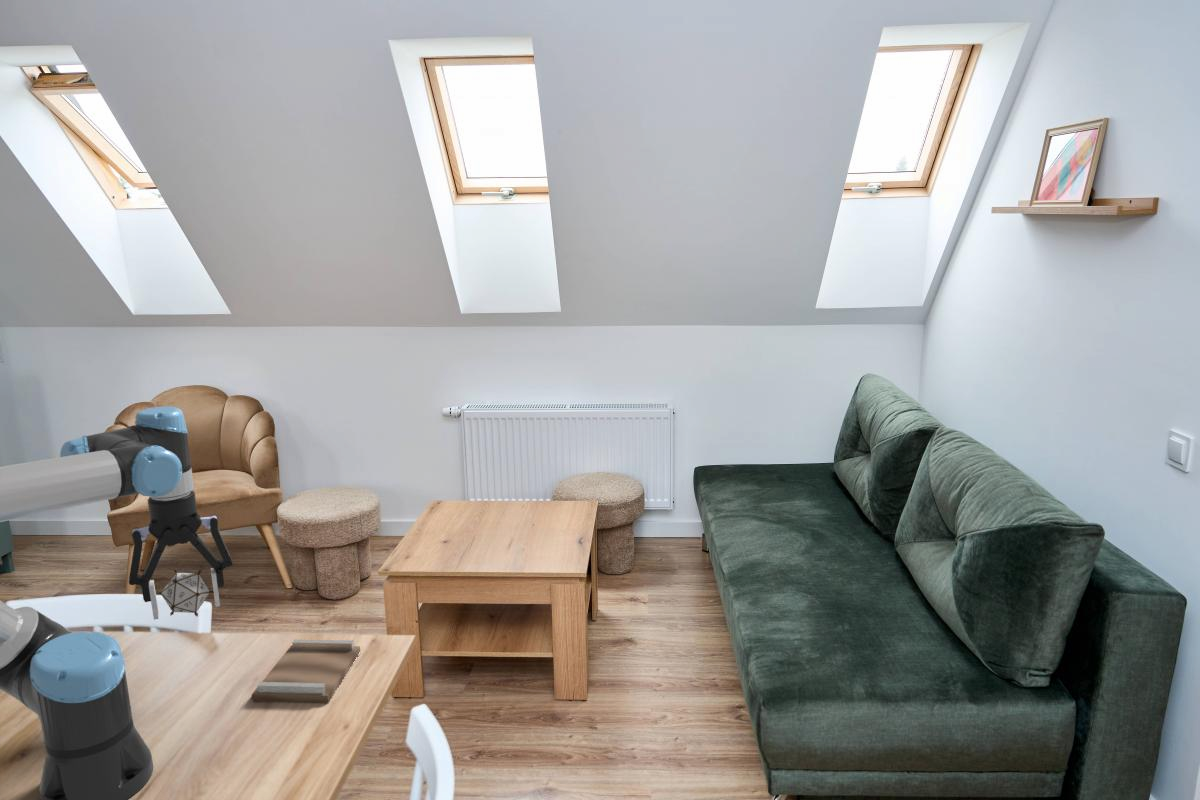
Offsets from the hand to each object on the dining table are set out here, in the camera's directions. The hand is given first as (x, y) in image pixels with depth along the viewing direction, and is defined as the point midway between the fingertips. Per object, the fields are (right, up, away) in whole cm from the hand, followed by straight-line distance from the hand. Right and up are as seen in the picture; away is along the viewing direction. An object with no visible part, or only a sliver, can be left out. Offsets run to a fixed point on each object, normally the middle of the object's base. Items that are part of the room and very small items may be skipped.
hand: (187, 609), depth 154 cm
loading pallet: (+20, -14, +6) cm, 25 cm away
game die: (0, -1, 0) cm, 1 cm away
